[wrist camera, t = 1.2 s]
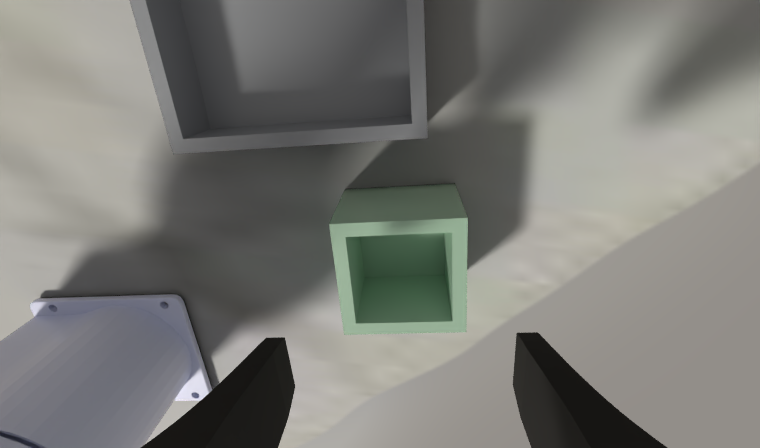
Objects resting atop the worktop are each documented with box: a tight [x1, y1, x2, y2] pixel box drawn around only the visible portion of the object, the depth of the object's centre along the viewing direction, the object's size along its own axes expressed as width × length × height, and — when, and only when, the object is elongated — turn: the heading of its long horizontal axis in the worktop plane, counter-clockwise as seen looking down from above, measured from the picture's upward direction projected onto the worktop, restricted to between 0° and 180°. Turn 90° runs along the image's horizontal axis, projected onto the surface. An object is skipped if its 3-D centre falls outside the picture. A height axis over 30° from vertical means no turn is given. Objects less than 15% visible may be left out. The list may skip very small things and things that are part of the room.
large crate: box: [130, 0, 428, 154], centre depth 15 cm, size 11×11×3 cm
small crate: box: [329, 183, 468, 335], centre depth 19 cm, size 6×6×4 cm
